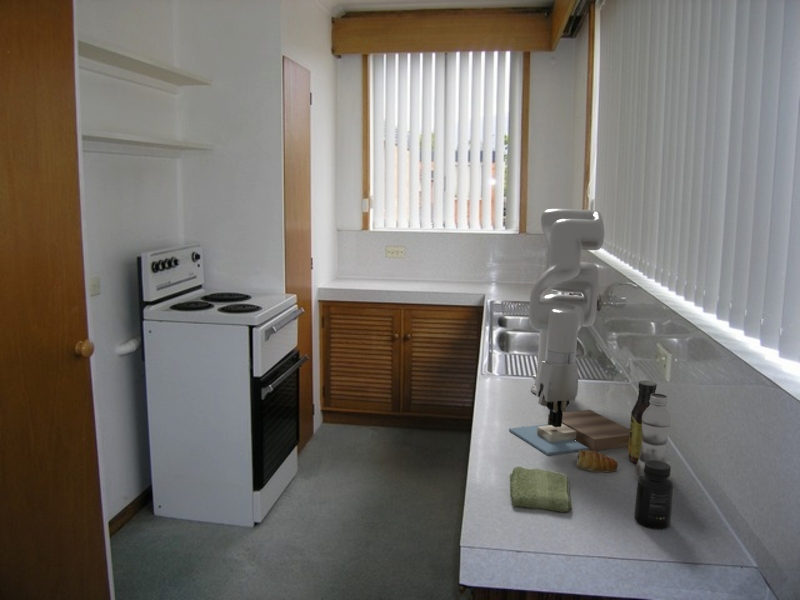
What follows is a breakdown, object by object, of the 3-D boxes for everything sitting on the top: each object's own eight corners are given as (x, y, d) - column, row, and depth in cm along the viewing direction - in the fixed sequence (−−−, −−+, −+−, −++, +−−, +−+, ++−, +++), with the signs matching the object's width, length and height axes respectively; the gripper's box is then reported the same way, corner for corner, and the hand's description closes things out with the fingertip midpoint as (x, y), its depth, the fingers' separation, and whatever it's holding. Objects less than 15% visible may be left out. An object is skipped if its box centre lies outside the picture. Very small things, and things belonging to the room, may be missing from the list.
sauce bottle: (633, 453, 177) (640, 376, 173) (658, 460, 173) (666, 382, 169) (622, 461, 172) (630, 382, 168) (648, 468, 168) (656, 387, 164)
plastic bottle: (629, 479, 161) (638, 395, 157) (643, 472, 165) (652, 389, 162) (656, 489, 156) (666, 402, 153) (670, 481, 161) (679, 396, 158)
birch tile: (536, 434, 186) (537, 426, 186) (562, 430, 189) (562, 423, 189) (550, 442, 181) (550, 434, 180) (575, 438, 184) (576, 431, 184)
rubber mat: (508, 430, 190) (509, 428, 190) (546, 426, 194) (546, 424, 194) (547, 455, 173) (547, 453, 173) (587, 449, 178) (587, 447, 178)
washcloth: (568, 481, 160) (569, 467, 159) (572, 516, 143) (573, 501, 142) (509, 475, 162) (510, 461, 162) (506, 509, 145) (507, 494, 144)
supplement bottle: (676, 522, 141) (682, 465, 139) (660, 533, 136) (666, 474, 134) (643, 510, 146) (649, 455, 144) (627, 520, 141) (633, 463, 139)
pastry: (615, 465, 170) (617, 449, 169) (618, 476, 163) (619, 460, 163) (575, 460, 172) (577, 445, 171) (576, 471, 165) (577, 455, 164)
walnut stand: (547, 424, 196) (548, 414, 195) (589, 419, 201) (589, 409, 201) (593, 450, 178) (594, 439, 177) (637, 444, 183) (638, 433, 183)
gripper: (575, 351, 187) (570, 418, 190) (527, 355, 182) (522, 423, 185) (593, 358, 181) (587, 427, 184) (544, 362, 175) (539, 433, 178)
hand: (555, 425), depth 184 cm, fingers closed
